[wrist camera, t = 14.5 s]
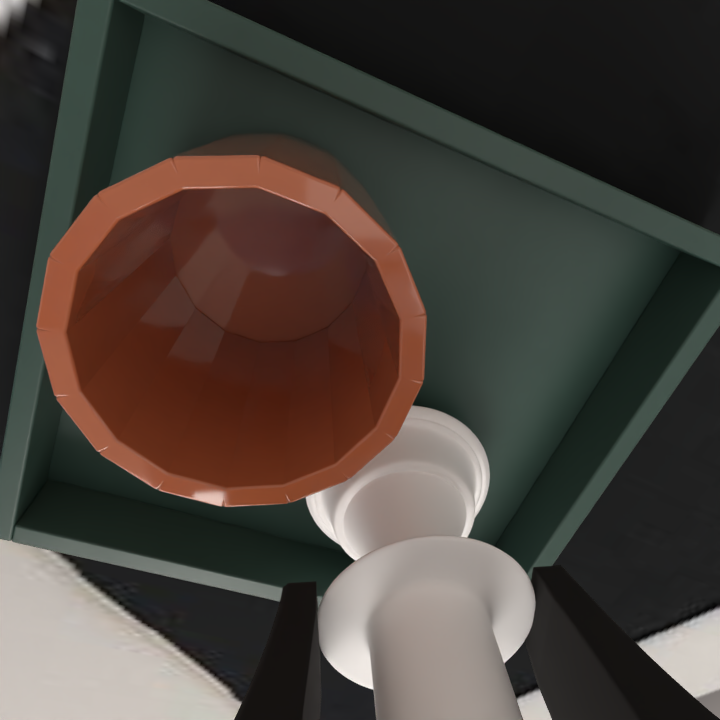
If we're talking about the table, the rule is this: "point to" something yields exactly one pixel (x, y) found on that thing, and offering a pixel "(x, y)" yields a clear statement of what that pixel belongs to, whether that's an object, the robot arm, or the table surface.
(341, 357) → the cup
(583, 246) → the tray
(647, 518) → the table surface
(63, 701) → the table surface
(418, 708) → the candle
